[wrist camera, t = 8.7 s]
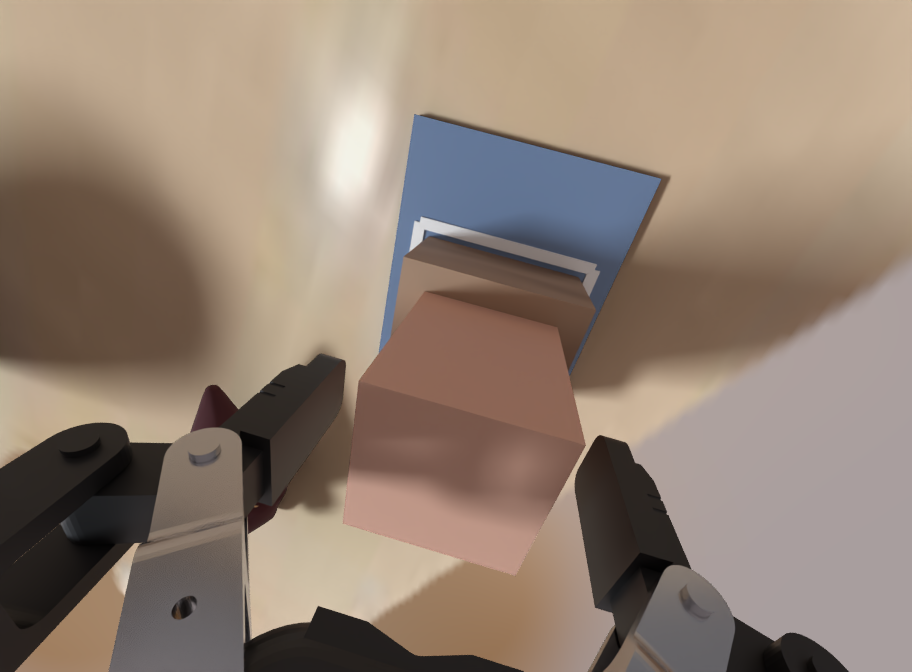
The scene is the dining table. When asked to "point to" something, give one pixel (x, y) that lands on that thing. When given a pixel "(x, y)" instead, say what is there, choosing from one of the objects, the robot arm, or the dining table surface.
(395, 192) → the dining table surface
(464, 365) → the terracotta block
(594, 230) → the blueprint mat
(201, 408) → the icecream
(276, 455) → the robot arm
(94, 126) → the dining table surface
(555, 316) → the walnut base
